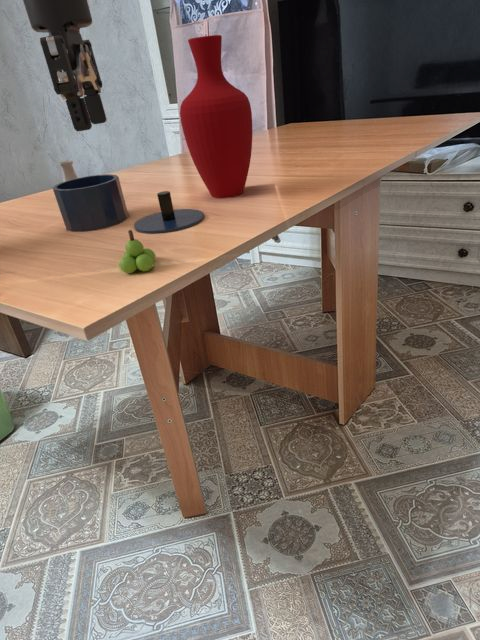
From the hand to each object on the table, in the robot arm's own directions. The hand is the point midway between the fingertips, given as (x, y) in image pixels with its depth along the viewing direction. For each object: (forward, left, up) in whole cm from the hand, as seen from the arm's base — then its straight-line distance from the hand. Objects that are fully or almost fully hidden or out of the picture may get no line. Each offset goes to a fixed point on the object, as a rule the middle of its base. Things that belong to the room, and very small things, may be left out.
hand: (92, 126), depth 66 cm
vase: (+16, +34, -20) cm, 43 cm away
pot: (-11, +24, -20) cm, 33 cm away
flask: (-21, +44, -20) cm, 53 cm away
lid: (+5, +17, -19) cm, 26 cm away
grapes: (+3, -5, -20) cm, 21 cm away
